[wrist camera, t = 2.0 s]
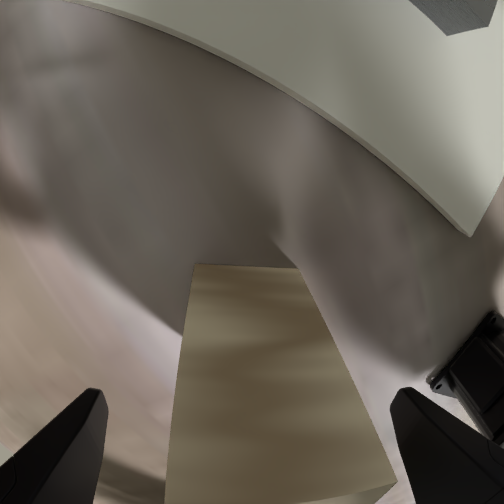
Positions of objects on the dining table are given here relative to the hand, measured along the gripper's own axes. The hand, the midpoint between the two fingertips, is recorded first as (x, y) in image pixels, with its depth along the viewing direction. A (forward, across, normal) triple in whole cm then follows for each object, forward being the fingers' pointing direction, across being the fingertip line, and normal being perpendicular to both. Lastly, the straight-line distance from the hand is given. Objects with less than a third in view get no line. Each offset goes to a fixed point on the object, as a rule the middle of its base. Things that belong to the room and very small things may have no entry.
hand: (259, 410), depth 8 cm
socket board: (+5, -5, -18) cm, 19 cm away
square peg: (+5, 0, 0) cm, 5 cm away
